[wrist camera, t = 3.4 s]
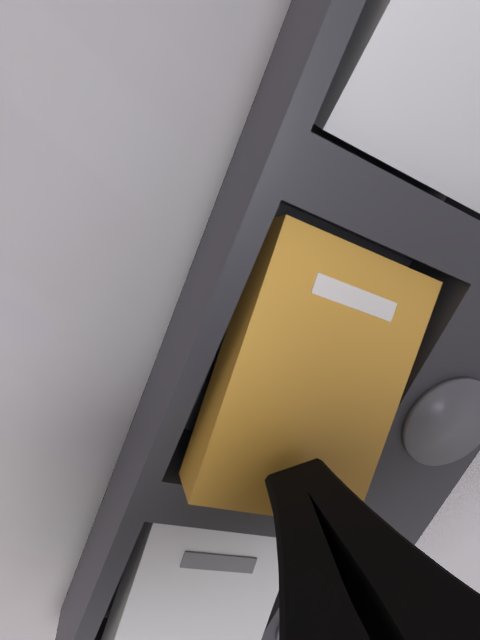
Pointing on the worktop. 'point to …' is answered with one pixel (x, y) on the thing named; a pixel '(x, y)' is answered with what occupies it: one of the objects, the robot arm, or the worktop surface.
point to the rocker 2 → (413, 92)
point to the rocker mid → (307, 367)
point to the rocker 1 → (195, 586)
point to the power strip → (225, 290)
